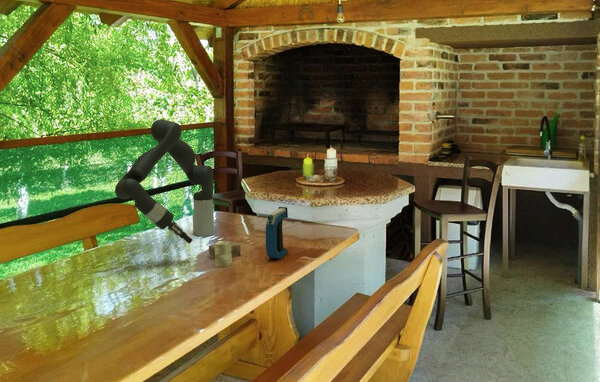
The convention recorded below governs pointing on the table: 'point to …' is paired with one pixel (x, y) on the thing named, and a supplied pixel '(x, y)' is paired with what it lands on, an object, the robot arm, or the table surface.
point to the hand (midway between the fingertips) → (190, 241)
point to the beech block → (223, 254)
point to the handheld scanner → (275, 233)
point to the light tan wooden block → (234, 250)
